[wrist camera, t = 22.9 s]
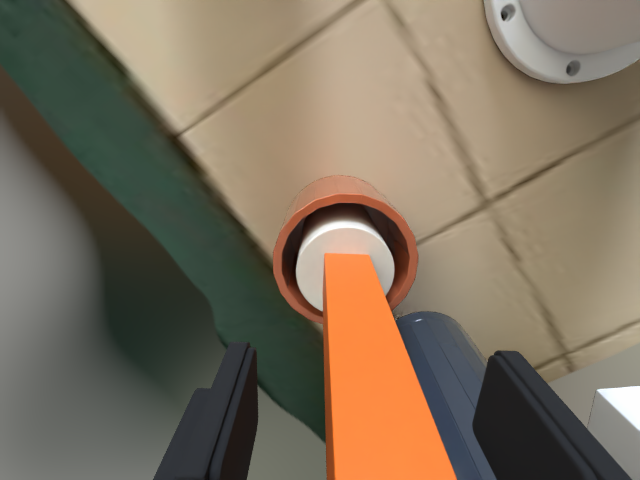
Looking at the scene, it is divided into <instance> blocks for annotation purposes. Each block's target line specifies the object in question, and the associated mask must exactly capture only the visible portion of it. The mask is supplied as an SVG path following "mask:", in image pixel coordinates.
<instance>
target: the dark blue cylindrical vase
mask: <svg viewBox="0 0 640 480" xmlns="http://www.w3.org/2000/svg"><path fill="white" fill-rule="evenodd" d="M395 322H396V325H397V327H398V330H399V333H400V335H401V338H402V340H403V343H404V345H405V348H406V350H407V353H408V356H409V358H410V361H411V363H412V366H413V368H414V371H415V373H416V376H417V379H418V381H419V384H420V386H421V389H422V391H423V394H424V396H425V399H426V401H427V404H428V407H429V409H430V412H431V414H432V417H433V419H434V422H435V424H436V427H437V430H438V432H439V435H440V437H441V440H442V442H443V445H444V447H445V450H446V453H447V455H448V458H449V460H450V463H451V465H452V468H453V470H454V473H455V475H456V478H457V480H497V479H496V477H495V475H494V473H493V471H492V469H491V467H490V465H489V463H488V461H487V459H486V457H485V455H484V453H483V451H482V449H481V447H480V445H479V443H478V441H477V439H476V437H475V435H474V432H473V427H472V423H473V418H474V414H475V410H476V406H477V402H478V398H479V394H480V391H481V387H482V383H483V379H484V375H485V371H486V367H487V363H488V362H487V360H486V359H485V358H484V356H483V355H482V353H481V352H480V351H479V349H478V348H477V347H476V345H475V344H474V342H473V341H472V340H471V338H470V337H469V335H468V334H467V333H466V332H465V330H464V329H463V328H462V326H461V325H460V324H459V323H458V322H457V321H455V320H454V319H452V318H451V317H449V316H447V315H444V314H441V313H437V312H429V311H427V312H416V313H412V314H408V315H406V316H403V317H401V318H399V319H397V320H396V321H395Z"/></svg>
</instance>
